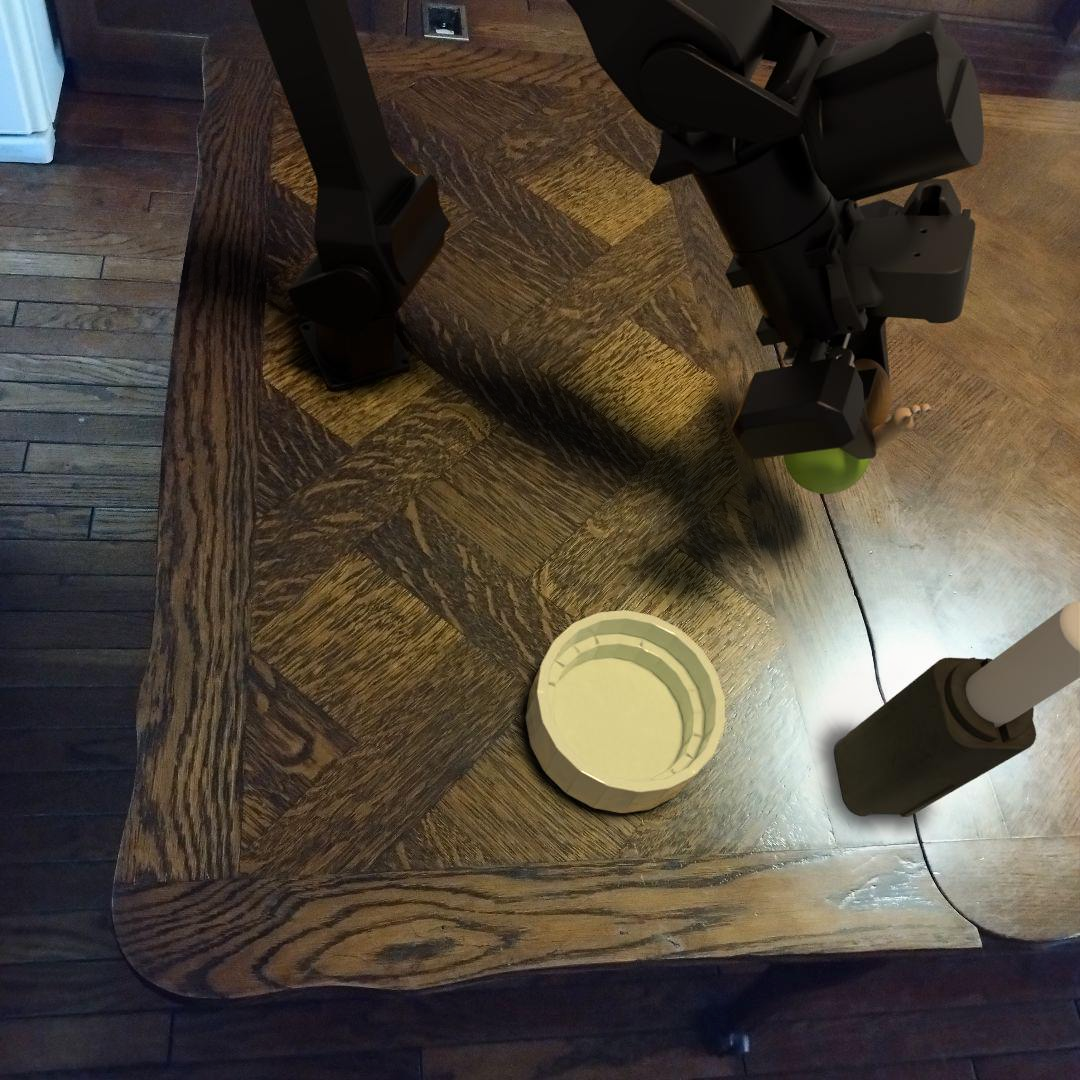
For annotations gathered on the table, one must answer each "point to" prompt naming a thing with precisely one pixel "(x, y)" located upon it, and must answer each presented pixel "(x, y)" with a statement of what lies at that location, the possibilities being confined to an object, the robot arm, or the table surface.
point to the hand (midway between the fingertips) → (875, 429)
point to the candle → (956, 721)
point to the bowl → (624, 711)
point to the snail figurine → (837, 466)
